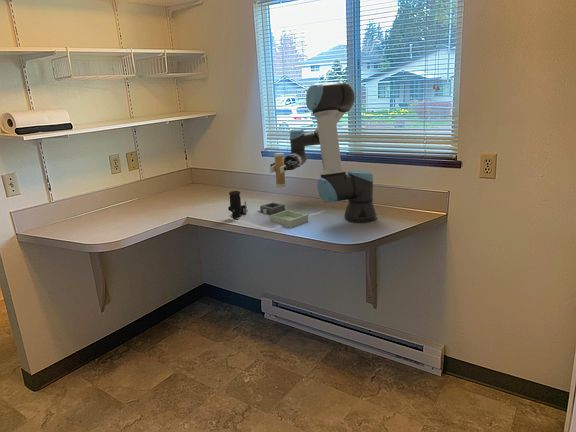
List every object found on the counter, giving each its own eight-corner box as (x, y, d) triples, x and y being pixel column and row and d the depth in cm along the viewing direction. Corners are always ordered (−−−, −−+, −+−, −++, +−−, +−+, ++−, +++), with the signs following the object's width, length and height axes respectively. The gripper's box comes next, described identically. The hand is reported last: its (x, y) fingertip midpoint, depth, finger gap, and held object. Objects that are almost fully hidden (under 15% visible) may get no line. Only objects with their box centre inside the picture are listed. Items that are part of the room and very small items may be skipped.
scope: (246, 189, 225) (240, 194, 216) (248, 215, 229) (242, 221, 220) (230, 189, 227) (224, 194, 217) (233, 215, 231) (226, 220, 221)
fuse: (287, 185, 216) (285, 153, 212) (280, 187, 213) (278, 154, 209) (281, 184, 220) (279, 152, 215) (274, 186, 217) (272, 153, 212)
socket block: (289, 212, 231) (288, 204, 230) (272, 217, 223) (271, 209, 222) (273, 208, 239) (272, 201, 238) (256, 213, 231) (256, 206, 230)
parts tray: (308, 221, 214) (307, 214, 213) (290, 227, 206) (290, 220, 205) (287, 216, 224) (287, 209, 223) (270, 222, 216) (269, 215, 215)
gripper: (308, 169, 228) (293, 178, 207) (277, 168, 234) (259, 177, 213) (307, 154, 226) (292, 162, 205) (276, 154, 232) (258, 162, 211)
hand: (275, 170), depth 209 cm, fingers closed on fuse, 4 cm apart
